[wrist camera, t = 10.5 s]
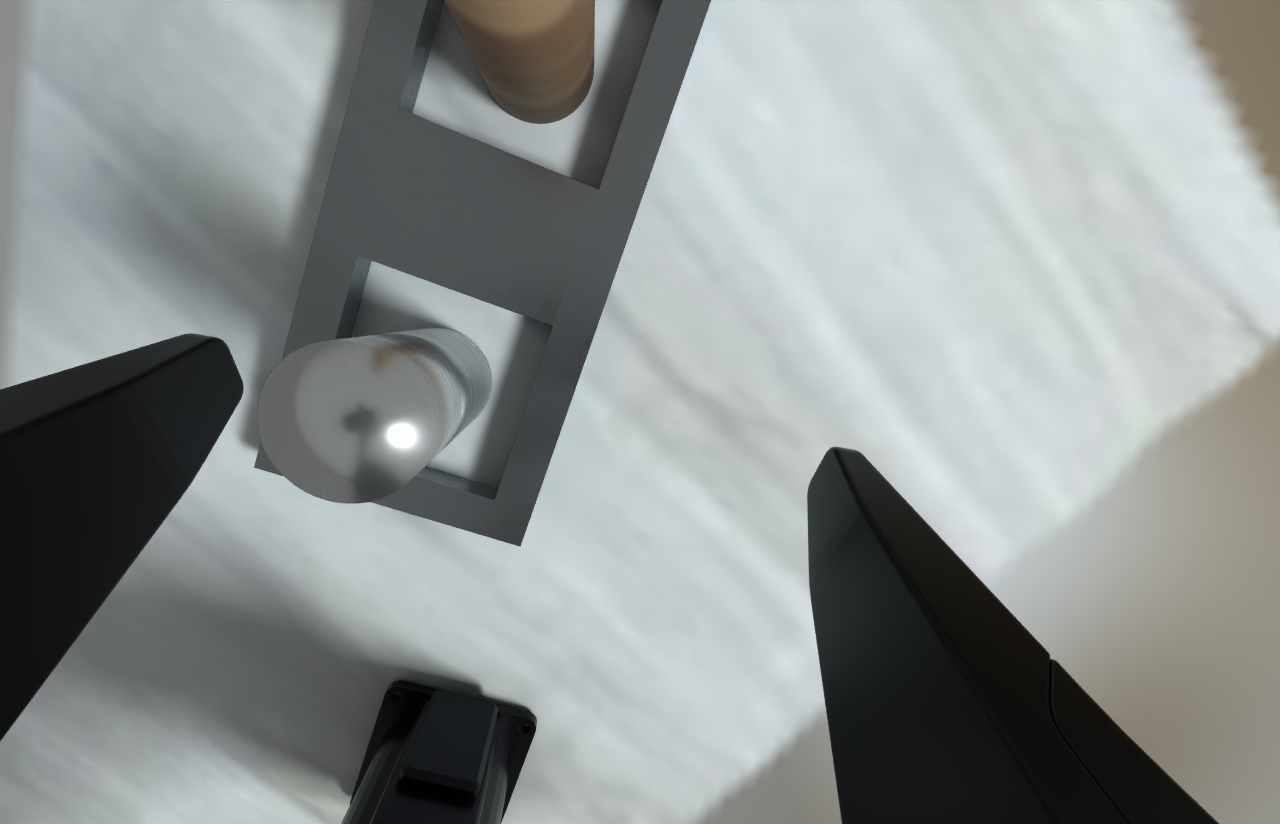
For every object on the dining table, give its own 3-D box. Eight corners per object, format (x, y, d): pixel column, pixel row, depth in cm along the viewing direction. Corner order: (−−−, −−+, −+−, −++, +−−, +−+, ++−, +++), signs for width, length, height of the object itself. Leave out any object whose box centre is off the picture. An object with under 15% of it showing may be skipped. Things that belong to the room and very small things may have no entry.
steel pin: (474, 444, 21) (406, 523, 13) (372, 411, 21) (239, 474, 13) (505, 348, 21) (452, 373, 13) (401, 312, 20) (280, 315, 12)
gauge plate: (523, 533, 22) (520, 546, 21) (273, 458, 21) (254, 467, 20) (719, -27, 19) (727, -49, 18) (437, -163, 17) (426, -197, 16)
